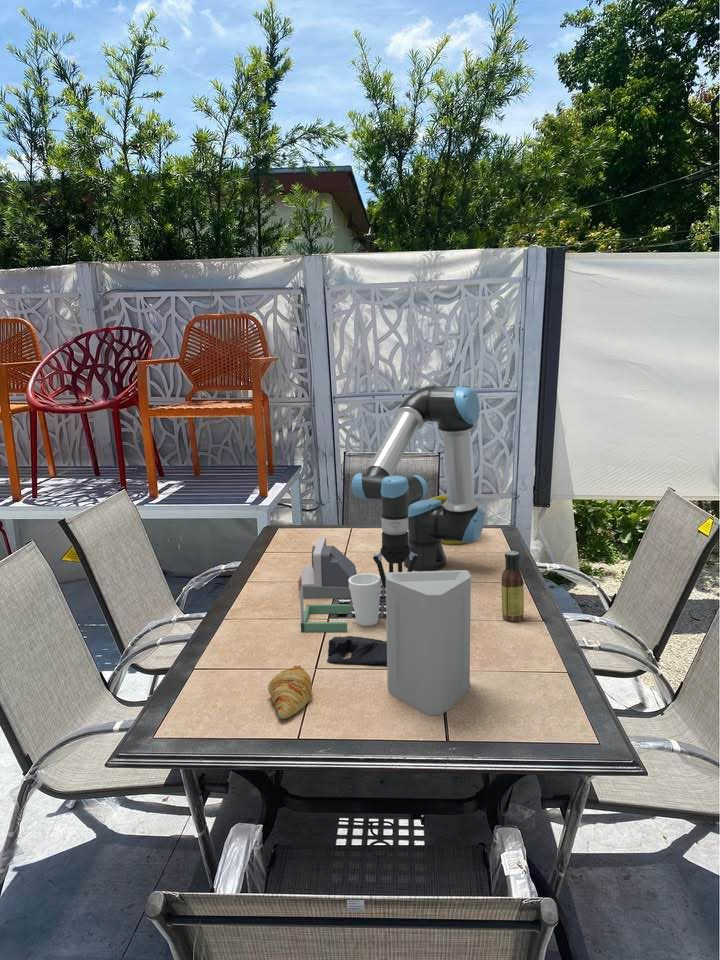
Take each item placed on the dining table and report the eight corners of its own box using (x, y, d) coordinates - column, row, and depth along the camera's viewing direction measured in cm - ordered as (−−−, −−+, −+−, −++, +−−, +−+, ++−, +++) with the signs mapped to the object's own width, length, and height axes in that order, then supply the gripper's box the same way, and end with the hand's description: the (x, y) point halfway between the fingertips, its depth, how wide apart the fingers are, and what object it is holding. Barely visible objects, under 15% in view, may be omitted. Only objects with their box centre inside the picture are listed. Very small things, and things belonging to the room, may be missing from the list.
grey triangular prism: (391, 716, 154) (389, 596, 148) (387, 683, 169) (385, 572, 163) (478, 713, 155) (479, 593, 149) (466, 680, 169) (467, 570, 163)
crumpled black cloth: (406, 673, 174) (405, 655, 173) (321, 664, 180) (321, 647, 179) (417, 646, 189) (417, 630, 188) (339, 639, 195) (338, 623, 194)
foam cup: (383, 627, 200) (381, 584, 197) (350, 629, 200) (348, 586, 197) (383, 613, 209) (380, 572, 206) (352, 615, 209) (349, 574, 206)
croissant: (297, 737, 153) (313, 708, 152) (255, 718, 153) (271, 689, 151) (308, 687, 174) (322, 661, 172) (272, 670, 173) (285, 643, 172)
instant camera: (308, 575, 244) (306, 534, 241) (366, 578, 240) (365, 536, 237) (290, 598, 224) (287, 553, 221) (353, 602, 220) (352, 556, 217)
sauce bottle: (527, 617, 204) (529, 552, 200) (516, 624, 200) (518, 557, 196) (508, 612, 209) (509, 548, 204) (496, 618, 204) (497, 553, 200)
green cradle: (349, 612, 211) (348, 559, 208) (346, 637, 194) (344, 580, 191) (306, 612, 212) (304, 560, 209) (299, 637, 195) (296, 581, 191)
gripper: (371, 535, 195) (373, 615, 200) (418, 534, 194) (419, 615, 199) (372, 527, 202) (373, 605, 207) (417, 527, 201) (418, 605, 206)
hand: (396, 610), depth 203 cm, fingers closed
